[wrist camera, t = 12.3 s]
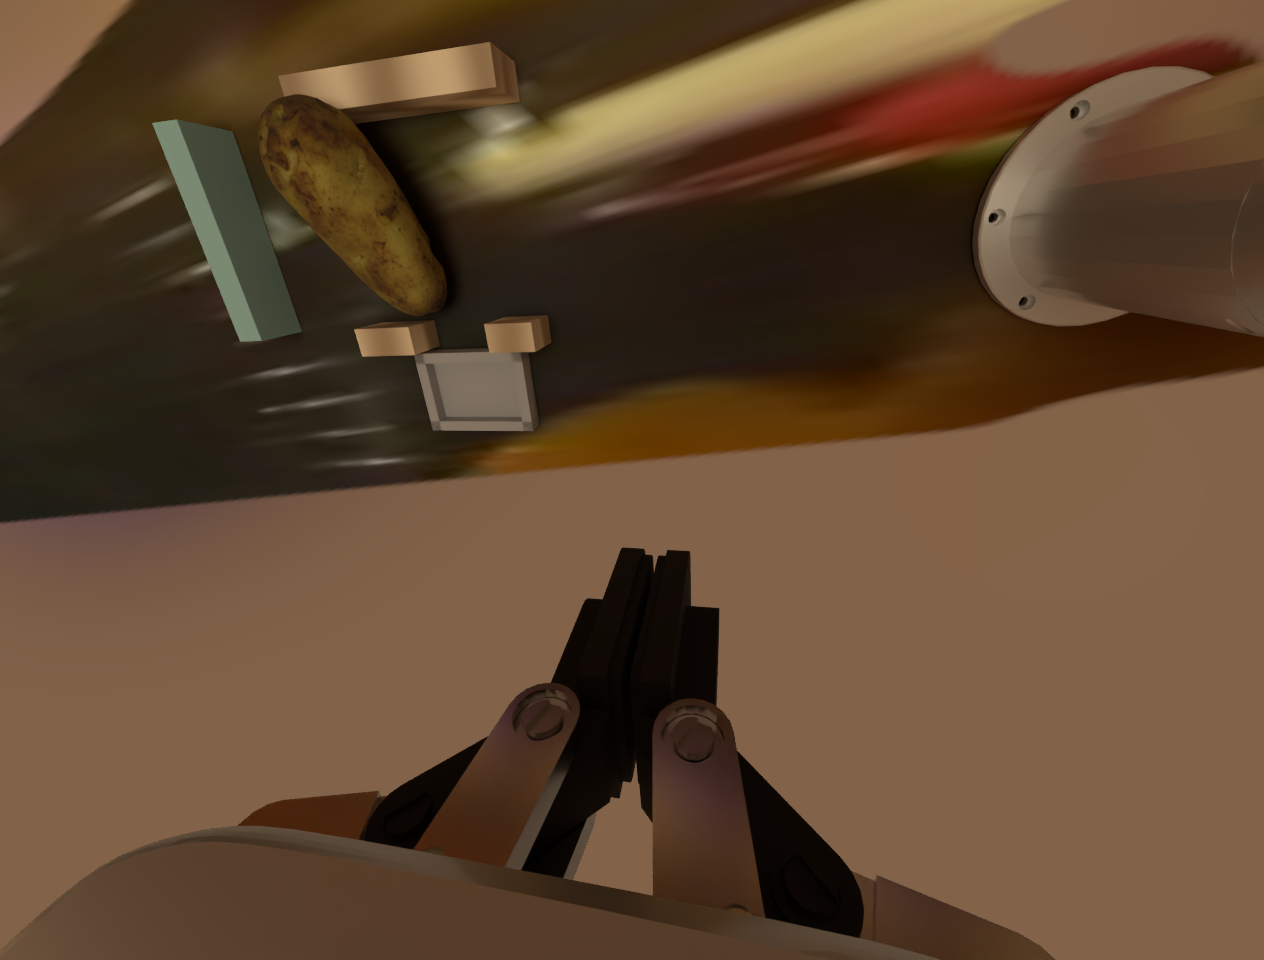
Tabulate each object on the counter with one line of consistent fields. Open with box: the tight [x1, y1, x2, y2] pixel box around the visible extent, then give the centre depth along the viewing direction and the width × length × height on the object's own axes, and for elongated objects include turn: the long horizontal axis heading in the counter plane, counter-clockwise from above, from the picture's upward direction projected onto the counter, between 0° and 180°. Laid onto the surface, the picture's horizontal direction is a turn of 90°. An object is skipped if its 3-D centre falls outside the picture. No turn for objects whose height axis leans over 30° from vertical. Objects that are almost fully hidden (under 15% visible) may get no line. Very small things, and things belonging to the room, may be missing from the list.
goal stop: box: [152, 120, 302, 341], centre depth 37 cm, size 2×14×4 cm, turn 3°
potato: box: [258, 94, 447, 316], centre depth 32 cm, size 8×13×8 cm, turn 5°
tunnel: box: [278, 42, 551, 356], centre depth 34 cm, size 14×17×4 cm
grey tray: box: [414, 348, 540, 431], centre depth 40 cm, size 9×6×2 cm
